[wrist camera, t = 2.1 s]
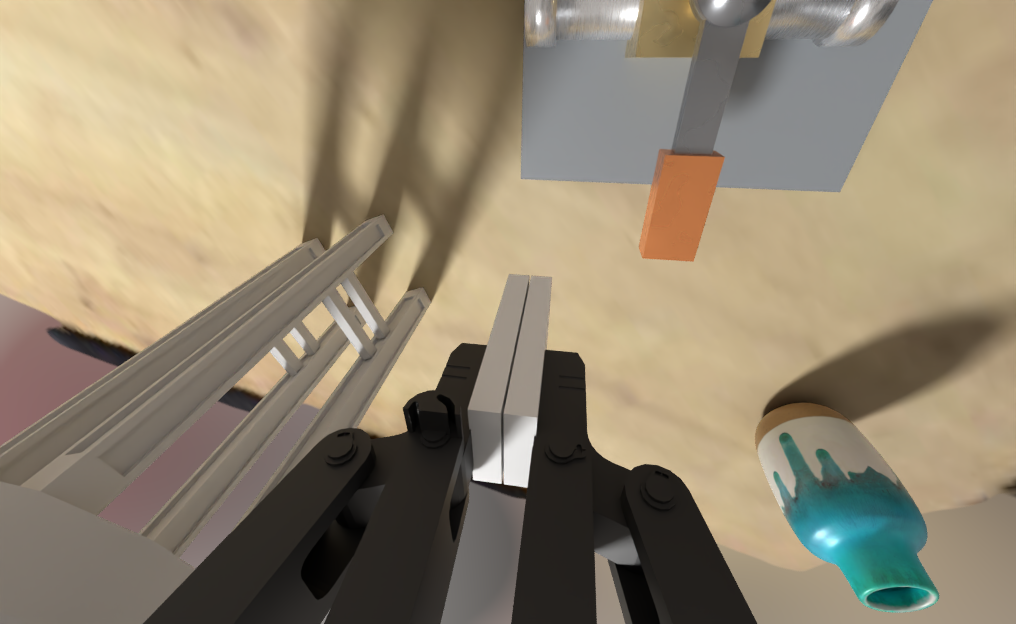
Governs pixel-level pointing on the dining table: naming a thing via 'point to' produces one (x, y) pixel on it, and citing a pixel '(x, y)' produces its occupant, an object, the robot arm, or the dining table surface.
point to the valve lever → (696, 133)
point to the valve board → (746, 119)
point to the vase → (846, 504)
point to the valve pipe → (673, 28)
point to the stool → (166, 416)
